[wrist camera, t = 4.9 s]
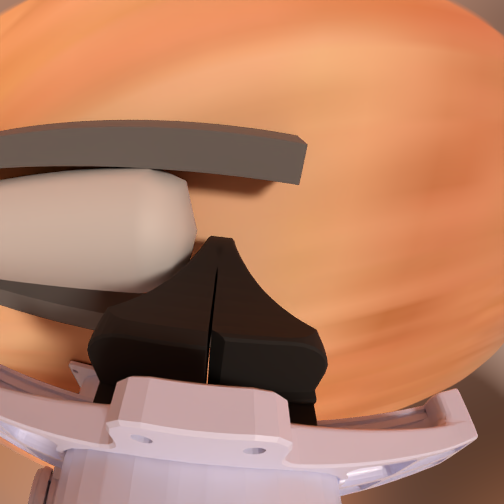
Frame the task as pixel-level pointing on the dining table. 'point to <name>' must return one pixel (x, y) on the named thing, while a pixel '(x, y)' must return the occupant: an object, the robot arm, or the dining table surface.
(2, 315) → the dining table surface
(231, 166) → the guide rails
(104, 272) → the tube
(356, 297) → the dining table surface
